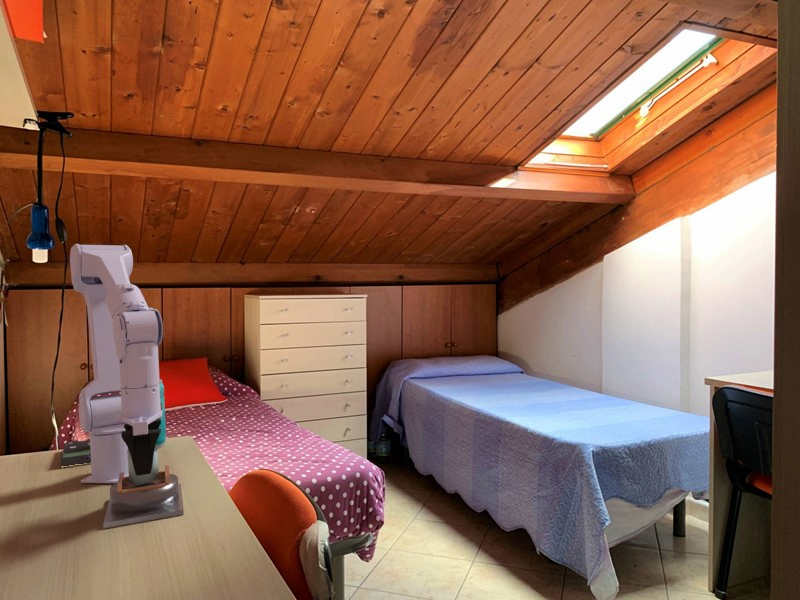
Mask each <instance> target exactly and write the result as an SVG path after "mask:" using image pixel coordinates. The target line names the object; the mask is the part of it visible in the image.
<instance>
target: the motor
mask: <svg viewBox="0 0 800 600" xmlns="http://www.w3.org/2000/svg"><path fill="white" fill-rule="evenodd" d="M182 493H183V492H182V485H181V483H179V477H178V476H177V475H176V474H173V473H170V466H169V465H164V470H161V471H160V470H159V477H158V478H157V479H155V480H153V481H150V482H146V483H139V484H134V483H130V482H129V476H126V477H124V472H120V474H119V479H118V482H117V483H113V484H112V485H111V486H110V487H109V499H108V505H107V508H106V512H105V516H104V519H103V525H102V526H103V529H104V530H105V529H110V528H116V527H121V526H126V525H133V524H137V523H144V522H150V521H155V520H160V519H167V518H173V517H178V516H183V515H185V514H184V511H185V509H184V502H183V494H182Z"/></svg>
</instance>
